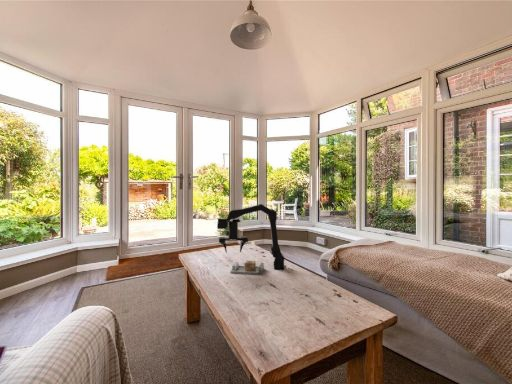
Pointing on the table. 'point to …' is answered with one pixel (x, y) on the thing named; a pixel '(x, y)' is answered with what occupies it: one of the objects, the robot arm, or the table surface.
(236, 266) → the block
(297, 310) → the table surface
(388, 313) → the table surface
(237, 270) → the base
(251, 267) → the block
